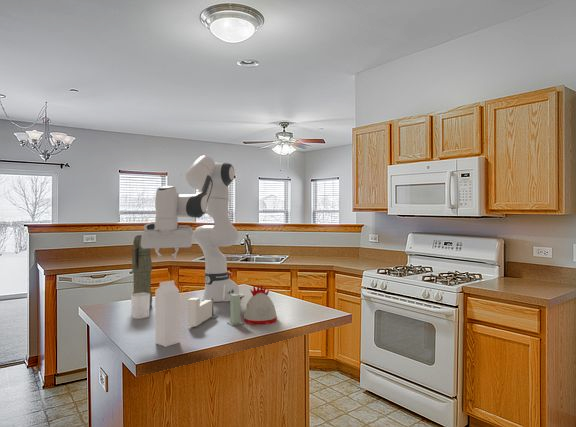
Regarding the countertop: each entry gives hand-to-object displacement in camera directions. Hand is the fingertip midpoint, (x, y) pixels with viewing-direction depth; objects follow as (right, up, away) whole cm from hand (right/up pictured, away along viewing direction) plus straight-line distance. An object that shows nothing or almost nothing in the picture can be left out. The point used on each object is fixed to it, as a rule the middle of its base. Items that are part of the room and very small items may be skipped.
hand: (167, 258), depth 168 cm
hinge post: (+16, -27, +11) cm, 33 cm away
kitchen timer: (+38, -27, +6) cm, 47 cm away
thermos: (-21, -27, +30) cm, 45 cm away
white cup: (-15, -27, +13) cm, 34 cm away
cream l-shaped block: (+14, -26, +2) cm, 29 cm away
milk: (+7, -28, -23) cm, 37 cm away
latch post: (+28, -27, 0) cm, 39 cm away
